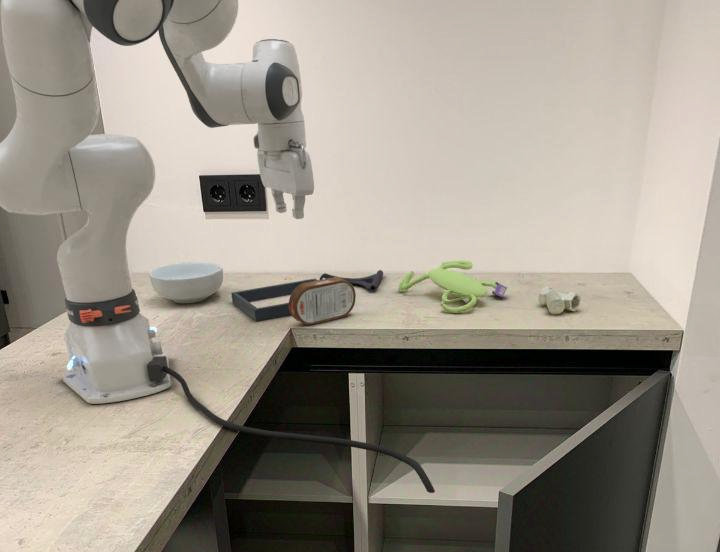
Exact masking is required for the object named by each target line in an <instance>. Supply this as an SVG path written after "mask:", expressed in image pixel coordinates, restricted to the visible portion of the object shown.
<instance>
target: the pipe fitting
mask: <svg viewBox="0 0 720 552" xmlns="http://www.w3.org/2000/svg"><path fill="white" fill-rule="evenodd" d="M581 300H582V299H581V295H580V294H579V293H577V292H571V291H570V292H567V291H564V290H559V289H553V288H552V287H548V286H544V287H542V289H541V290H540V292H539V295H538V303H539V304H541V305H544V306H547V309H548V311H549V313H550V314H552V315H560V314H561V313H563V312H564V310H566V311H569V312H576V311H577V310H578V309H579V307H580V306H581Z"/></svg>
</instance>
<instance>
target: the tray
mask: <svg viewBox="0 0 720 552" xmlns="http://www.w3.org/2000/svg"><path fill="white" fill-rule="evenodd" d="M317 280H318V279H317V278H310V279H309V278H308V279H303V280H298V281H292V282H286V283H280V284H273V285H267V286H263V287H261V286H260V287H256V288H251V289H250V288H249V289H244V290H237V291H233V292H231V293H230V294H231V300H232V304H233V305H234V306H236V307H237V308H238V309H240V310H241V311H242V312H244V313H245V314H246V315H247V316H248V317H250V318H251V319H252V320H254V321H255V322H260V321H266V320H270V319H275V318H277V319H278V318H281V317H287V316H292V315H291V313H290V310H289V302H284V303H279V304H273V305H267V306H263V307H257V306H255V305H254V304H252V303H251V302H253V301H259V300H265V299H272V298H277V297H283V296H288V295H291V294H292V292H293V291H294V289H295V288H296V287H297V286H299V285H300V284H302V283H306V282H312V281H317Z"/></svg>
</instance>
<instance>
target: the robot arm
mask: <svg viewBox="0 0 720 552" xmlns="http://www.w3.org/2000/svg"><path fill="white" fill-rule="evenodd" d="M238 13H239V0H1V1H0V22H1V34H2V36H1V37H2V42H3V48H4V49H3V50H4V55H5V59H6V63H7V64H6V65H7V68H8V72H9V76H10V81H11V85H12V89H13V95H14V100H15V107H16V116H15V121H14V124H13V126H12V128H11V130H10V132H9V133H8V135H6V137H5V138H4V139H3V140H2V141H1V142H0V207H1V208H2V209H3V210H4V211H6V212H7V213H9V214H18V215H29V216H46V215H55V214H56V215H57V214H63V213H73V212H85V213H86V214H87V219H86V222H85V224H84V225H83V226H82V227H81V228H80V229H79V230H78V231H76V232H74V233H73V234H72V235H70V236H69V237H68V238H66V239H65V240H64V241H63V242H62V243H61V244H60V246H59V247H58V250H57V253H56V262H57V266H58V270H59V273H60V277H61V281H62V286H63V289H64V293H65V298H64V305H65V306H64V307H65V311H66V313H67V317H68V320H69V322H70V323H69V326H68V327H67V329H66V330H65V331H64V332H63V338H64V341H65V346H66V350H67V355H68V360H69V362H68V363H67V365H66V368H67V370H68V371H67V372H66V373H63V374H62V381H63V383H65V384H66V385H67V386H68V387H69V388H70V389H71V390H72V391H73V392H74V393H76V394H77V395H78V396H79V397H81V398H82V399H83V400H84V401H85V402H86V403H88V404H89V405H91V404H93V405H94V404H95V405H96V404H97V405H99V404H109V403H117V402H122V401H128V400H133V399H137V398H141V397H146V396H150V395H153V394H157V393H160V392H161V391H165V390H167V389H169V388H170V387H171V386H172V382H171V381H172V380H171V377H173V378H174V379H175V380H176V381H178V382H179V384H180V385H181V388H182V391H183V393H184V395H185V396H186V398H187V400H188V401H189V402H190V403H191V404H192V406H194V407H195V408H196V409H197V410H198V411H200V412H201V413H202V414H204V415H205V416H206V417H207V418H208V419H210V420H211V421H212V422H214V423H215V424H218V425H220V426H222V427H224V428H227V429H229V430H233V431H237V432H240V433H245V434H249V435H253V436H259V437H263V438H264V437H266V438H270V439H271V438H272V439H281V440H291V441H299V442H300V441H301V442H307V443H308V442H309V443H317V444H328V445H336V446H344V447H351V448H356V449H361V450H367V451H371V452H375V453H380V454H384V455H387V456H390V457H391V458H394V459H396V460H398V461H400V462H402V463H403V464H406V465H408V466H409V467H411V468H412V469H413V470H414V471H415V473H416V474H417V475H418V477H419V479H420V481H421V482H422V484H423V486H424V488H425V490H426V492H428V493H429V494H434V493H435V492H436V491H435V490H436V489H435V487H434V485H433V484H432V482H431V480H430V478H429V476H428V475H427V473H426V471H425V470H424V468H423V467H422V465H421V464H420V463H419V462H418V461H416V460H415V459H413V458H412V457H409V456H407V455H406V454H403V453H401V452H399V451H397V450H395V449H391V448H389V447H386V446H382V445H378V444H373V443H368V442H363V441H357V440H352V439H346V438H339V437H331V436H319V435H311V434H303V433H302V434H301V433H294V432H293V433H292V432H290V433H289V432H282V431H274V430H266V429H260V428H255V427H249V426H245V425H240V424H237V423H233V422H230V421H228V420H225V419H223V418H221V417H219V416H217V415H216V414H214V413H213V412H212V411H211V410H210V409H208V408H207V407H206V406H205V405H203V404H202V403H200V401H198V400H197V398H195V397H194V396H193V394H192V393H191V391H190V389H189V385H188V383H187V382H186V380H185V378H183V376H182V375H181V374H179V373H178V372H177V371H175V370H173V369H172V368H170V360H169V357H168V355H166V354H163V349H162V344H161V341H153V339H155V338H156V336H157V335H156V333H157V330H158V329H157V327H155V326H151V325H150V321H149V318H148V317H146V316H144V315H143V314H141V313H140V311H141V310H140V306H139V299H138V296H137V292H136V290H135V289H134V288H133V287H132V286H133V285H132V281H131V276H130V275H131V274H130V270H129V261H128V253H127V237H128V231H129V229H130V225H131V222H132V220H133V218H134V216H135V214H136V212H137V211H138V209H139V208H140V206H141V205H142V204H144V202H145V201H146V200H147V199H148V198H149V196H151V193H152V191H153V189H154V187H155V184H156V183H155V182H156V167H155V163H154V160H153V158H152V155H151V153H150V152H149V150H148V149H147V147H146V146H145V145H144V143H143V142H141V140H139V139H138V138H136V137H134V136H127V135H121V134H112V133H100V134H99V133H98V134H92V133H93V131H94V129H95V128H96V126H97V123H98V121H99V118H100V114H101V113H100V112H101V111H100V110H101V108H100V102H99V93H98V87H97V81H96V80H97V79H96V73H95V66H94V60H93V54H92V50H91V45H90V43H91V37H92V36H91V35H92V31H93V29H95V30H96V31H97V32H98V33H100V34H101V35H102V36H104V37H105V38H106V39H108V40H109V41H111V42H113V43H115V44H117V45H119V46H123V47H131V46H132V47H133V46H136V45H139V44H141V43H143V42H146V41H148V40H149V39H151V38H152V37H153V36H154V35H155V34H156V33H157V32H158V37H159V40H160V42H161V46H162V48H163V50H164V52H165V54H166V56H167V58H168V60H169V62H170V64H171V66H172V68H173V70H174V72H175V73H176V75H177V77H178V79H179V81H180V83H181V85H182V87H183V89H184V90H185V93H186V95H187V98H188V101H189V104H190V108H191V110H192V113H193V114H194V115H195V117H196V118H197V119H198V120H199V121H200V122H201V123H202V124H204V125H205V126H206V127H207V128H210V129H213V128H222V127H228V126H238V125H254V124H255V125H256V124H257V132H256V133H255V134H254V136H253V139H252V141H253V147H254V149H256V150H257V152H256V157H257V163H258V170H259V175H260V180H261V182H262V185H263V187H265V188H268V189H270V191H271V196H272V198H273V201H274V205H275V211H276V212H277V213H279V214H282V213H283V214H285V213H286V212H287V203H286V202H285V198H284V193H285V194H288V195H291V197H292V198H291V199H292V201H293V208H292V209H291V211H292V212H291V213H292V217H293V218H294V219H296V220H301V219H302V220H303V219H304V217H305V212H304V208H305V204H306V196H312V195H313V194H314V191H315V180H314V172H313V165H312V159H311V156H310V154H309V151H306V148H307V137H306V124H305V123H306V122H305V117H304V114H303V111H302V110H303V109H302V98H303V88H302V87H303V86H302V77H301V71H300V66H299V60H298V55H297V52H296V48H295V46H294V45H293V43H291V42H290V41H288V40H284V39H276V38H268V39H261V40H259V41H257V42H255V43H254V44H253V47H252V60H251V61H248V62H247V61H246V62H236V63H235V62H233V63H232V62H231V63H213V62H208V61H206V59H205V57H204V55H203V52H206V51H209V50H213V49H214V48H217V47H218V46H219V45H221V44H222V43H223V42H224V41H225V40H226V39H227V38H228V36H229V35H230V34H231V32H232V30H233V29H234V27H235V24H236V21H237V18H238Z"/></svg>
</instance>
